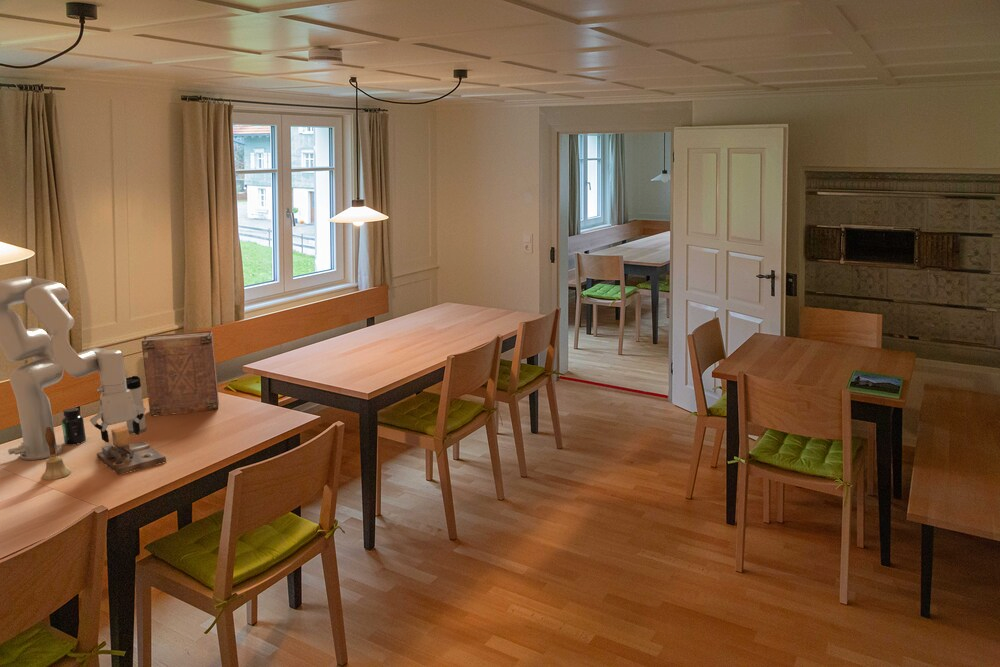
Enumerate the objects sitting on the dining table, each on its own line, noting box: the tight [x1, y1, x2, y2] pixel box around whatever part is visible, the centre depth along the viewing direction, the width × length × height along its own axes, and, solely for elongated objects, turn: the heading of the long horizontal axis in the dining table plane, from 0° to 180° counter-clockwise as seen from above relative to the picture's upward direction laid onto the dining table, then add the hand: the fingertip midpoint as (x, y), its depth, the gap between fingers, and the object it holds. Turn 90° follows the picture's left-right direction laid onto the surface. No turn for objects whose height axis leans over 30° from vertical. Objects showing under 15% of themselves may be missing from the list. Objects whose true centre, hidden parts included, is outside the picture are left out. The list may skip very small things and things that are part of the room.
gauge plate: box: [96, 441, 167, 476], centre depth 271 cm, size 15×20×5 cm
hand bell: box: [41, 427, 72, 481], centre depth 259 cm, size 8×8×16 cm
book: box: [141, 330, 220, 417], centre depth 321 cm, size 25×9×30 cm, turn 107°
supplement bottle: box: [61, 407, 87, 445], centre depth 288 cm, size 7×7×12 cm
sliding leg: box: [111, 426, 134, 459], centre depth 269 cm, size 4×12×8 cm, turn 43°
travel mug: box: [125, 375, 147, 434], centre depth 298 cm, size 6×7×20 cm
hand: (121, 437), depth 271 cm, fingers open, 9 cm apart
